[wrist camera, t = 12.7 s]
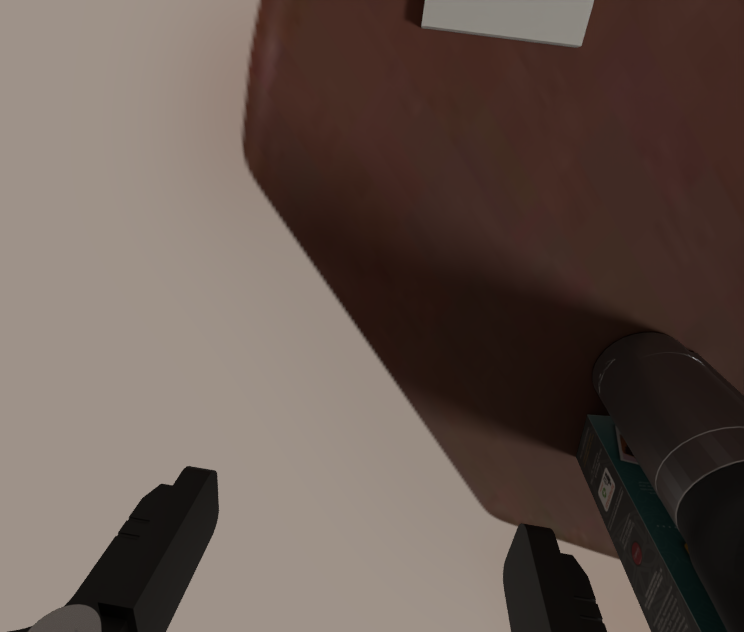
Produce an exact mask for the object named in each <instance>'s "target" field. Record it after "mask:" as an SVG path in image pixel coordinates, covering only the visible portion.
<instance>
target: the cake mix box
mask: <svg viewBox="0 0 744 632" xmlns="http://www.w3.org/2000/svg"><path fill="white" fill-rule="evenodd" d="M576 458H577V460H578V463H579V465H580V467H581V470H582V472H583V474H584V477H585V479H586V481H587V484H588V486H589V488H590V490H591V493H592V495H593V497H594V500H595V502H596V504H597V507H598V509H599V511H600V514H601V516H602V518H603V521H604V523H605V525H606V528H607V530H608V532H609V535H610V537H611V539H612V542H613V544H614V546H615V548H616V551H617V553H618V555H619V558H620V560H621V562H622V565H623V567H624V569H625V572H626V574H627V576H628V579H629V581H630V583H631V585H632V588H633V590H634V593H635V595H636V597H637V599H638V602H639V604H640V606H641V609H642V611H643V613H644V616H645V618H646V620H647V623H648V625H649V627H650V630H651V632H727V630H726V628H725V626H724V624H723V622H722V620H721V618H720V616H719V614H718V612H717V610H716V608H715V607H714V605H713V603H712V601H711V599H710V597H709V595H708V593H707V591H706V590H705V588H704V586H703V584H702V582H701V580H700V579H699V577H698V575H697V573H696V571H695V569H694V567H693V565H692V562H691V559H690V556H689V551H688V546H687V544H686V542H685V540H684V538H683V537H682V535H681V533H680V532H679V530H678V529H677V527H676V525H675V523H674V522H673V520H672V518H671V517H670V515H669V513H668V512H667V510H666V508H665V507H664V505H663V503H662V502H661V500H660V498H659V497H658V495H657V494H656V492H655V490H654V489H653V487H652V485H651V483H650V482H649V480H648V478H647V477H646V475H645V473H644V472H643V470H642V468H641V467H640V465H639V463H638V462H637V460H636V458H635V457H634V455H633V453H632V452H631V450H630V448H629V447H628V445H627V443H626V442H625V440H624V438H623V436H622V435H621V433H620V431H619V430H618V428H617V426H616V425H615V423H614V421H613V420H612V418H611V416H601V415H587V417H586V421H585V425H584V429H583V433H582V436H581V440H580V444H579V448H578V452H577V455H576Z"/></svg>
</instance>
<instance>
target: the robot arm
mask: <svg viewBox="0 0 744 632" xmlns="http://www.w3.org/2000/svg"><path fill="white" fill-rule="evenodd" d="M592 382H593V385H594V389H595V390H596V392H597V394H598V396H599V397H600V399H601V401H602V402H603V404H604V406H605V407H606V409H607V411H608V413H609V415H610V416H611V418H612V420H613V421H614V423H615V425H616V426H617V428H618V430H619V431H620V433H621V435H622V436H623V438H624V440H625V442H626V443H627V445H628V447H629V448H630V450H631V452H632V453H633V455H634V457H635V458H636V460H637V462H638V463H639V465H640V467H641V468H642V470H643V472H644V473H645V475H646V477H647V478H648V480H649V482H650V483H651V485H652V487H653V489H654V490H655V492H656V494H657V495H658V497H659V498H660V500H661V502H662V503H663V505H664V507H665V508H666V510H667V512H668V513H669V515H670V517H671V518H672V520H673V522H674V523H675V525H676V527H677V529H678V530H679V532H680V533H681V535H682V537H683V538H684V540H685V542H686V544H687V546H688V551H689V556H690V559H691V562H692V565H693V567H694V569H695V571H696V573H697V575H698V577H699V579H700V580H701V582H702V584H703V586H704V588H705V590H706V591H707V593H708V595H709V597H710V599H711V601H712V603H713V605H714V607H715V608H716V610H717V612H718V614H719V616H720V618H721V620H722V622H723V624H724V626H725V628H726V630H727V632H744V396H743V395H742V394H741V393H740V392H739V391H738V390H737V389H736V388H735V387H734V386H733V385H731V384H730V383H729V382H728V381H727V380H726V379H725V378H724V377H723V376H722V375H721V374H719V373H718V372H717V371H716V370H715V369H714V368H713V367H712V366H711V365H710V364H709V363H708V362H706V361H705V360H704V359H703V358H702V357H701V356H700V355H699V354H698V353H694V352H690V351H689V350H688V349H686V348H685V347H684V346H683V345H682V344H681V343H680V342H679V341H677V340H676V339H674V338H673V337H670V336H668V335H665V334H661V333H654V332H648V333H638V334H633V335H630V336H627V337H625V338H622V339H620V340H618V341H617V342H615V343H613V344H612V345H611V346H609V347H608V348H607V349H606V350H605V351H604V352H603V353H602V354H601V355H600V357H599V358H598V360H597V362H596V364H595V366H594V369H593V373H592ZM218 513H219V504H218V483H217V472H216V471H214V470H208V469H202V468H197V467H191V466H187V467H186V468H184V470H183V471H182V472H181V474H180V475H179V477H178V478H177V480H176V481H175V483H174V485H173V486H172V485H166V484H160V485H159V486H158V487H156V488H155V489H154V490H152V491H151V492H150V493H149V494H147V495H146V496H145V497H143V498H142V499H141V501H140V502H139V504H138V505H137V507H136V508H135V509H134V511H133V512H132V514H131V515H130V516H129V520H128V521H126V522H125V524H124V525H123V526H122V528H121V529H120V531H119V532H118V536H116V537H115V538H114V539H113V541H112V542H111V544H110V545H109V546H108V548H107V549H106V551H105V552H104V553H103V555H102V556H101V558H100V559H99V560H98V562H97V563H96V565H95V566H94V568H93V569H92V570H91V572H90V574H89V575H88V576H87V578H86V579H85V580H84V582H83V583H82V585H81V586H80V588H79V589H78V590H77V592H76V593H75V594H74V596H73V597H72V598H71V600H70V601H69V602H68V603H67V604H66V605H65V606H64V607H62V608H59V609H57V610H55V611H52V612H51V613H49V614H48V615H46V616H44V617H43V618H42V619H40V620H39V621H38V622H37V623H35V625H33V626H31V627H28V628H25V629H20V630H16V631H9V632H166V630H167V628H168V626H169V624H170V622H171V620H172V618H173V616H174V614H175V612H176V610H177V608H178V605H179V603H180V601H181V599H182V597H183V595H184V593H185V591H186V589H187V587H188V585H189V583H190V581H191V579H192V576H193V574H194V572H195V570H196V568H197V566H198V564H199V562H200V560H201V558H202V556H203V554H204V552H205V550H206V548H207V545H208V543H209V541H210V539H211V537H212V535H213V533H214V530H215V527H216V524H217V519H218ZM503 584H504V591H505V597H506V603H507V609H508V615H509V621H510V627H511V632H607V630H606V627H605V625H604V624H603V622H602V616H601V613H600V610H599V607H598V604H596V601H595V600H596V599H595V596H594V593H593V590H592V587H591V584H590V581H589V578H588V576H587V575H586V573H585V572H584V571H583V569H582V568H581V566H580V565H579V564H578V562H577V561H576V559H575V558H574V557H573V556H572V555H568V554H563V553H560V550H559V547H558V543H557V540H556V537H555V534H554V532H553V530H552V529H550V528H545V527H540V526H534V525H528V524H520V525H519V526H518V528H517V531H516V534H515V536H514V539H513V541H512V544H511V547H510V549H509V552H508V554H507V557H506V560H505V563H504V570H503Z"/></svg>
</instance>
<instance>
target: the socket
mask: <svg viewBox="0 0 744 632" xmlns="http://www.w3.org/2000/svg"><path fill="white" fill-rule="evenodd" d="M593 2H594V0H425V4H424V11H423V18H422V25H421V28H426V29H434V30H442V31H450V32H458V33H465V34H473V35H481V36H489V37H497V38H505V39H512V40H520V41H528V42H536V43H544V44H552V45H559V46H567V47H575V48H577V47H580V46H581V45H582V42H583V38H584V34H585V31H586V27H587V24H588V20H589V17H590V13H591V10H592V6H593Z"/></svg>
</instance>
